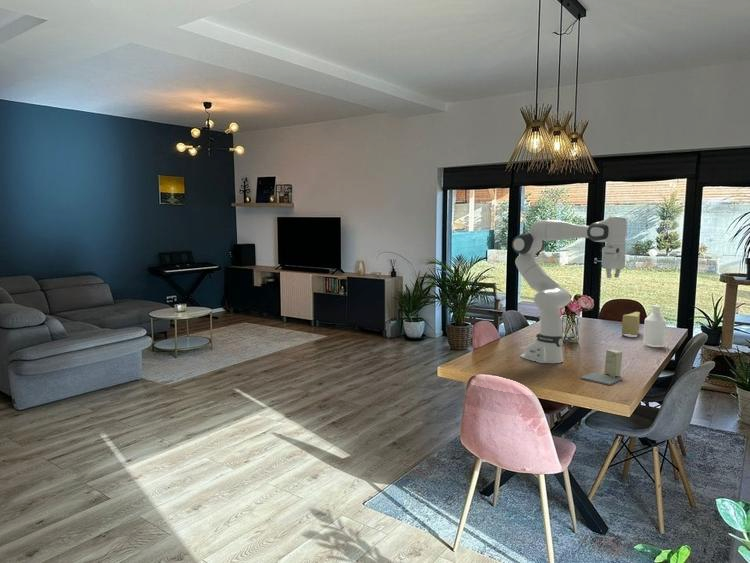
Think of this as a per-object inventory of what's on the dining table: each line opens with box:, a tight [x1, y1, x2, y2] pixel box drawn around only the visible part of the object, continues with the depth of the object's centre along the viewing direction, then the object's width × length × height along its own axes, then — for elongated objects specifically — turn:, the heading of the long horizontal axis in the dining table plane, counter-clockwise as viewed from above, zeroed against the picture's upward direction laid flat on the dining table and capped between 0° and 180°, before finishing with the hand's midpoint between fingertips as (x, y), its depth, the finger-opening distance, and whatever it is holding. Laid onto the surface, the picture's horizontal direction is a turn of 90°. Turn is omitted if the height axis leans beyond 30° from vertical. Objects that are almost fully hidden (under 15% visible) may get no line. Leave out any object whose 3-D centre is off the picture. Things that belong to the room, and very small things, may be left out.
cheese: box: [621, 311, 641, 336], centre depth 366 cm, size 22×10×15 cm, turn 141°
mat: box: [580, 371, 624, 386], centre depth 256 cm, size 14×14×1 cm
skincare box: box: [604, 348, 623, 377], centre depth 264 cm, size 6×4×12 cm
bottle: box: [643, 304, 667, 345], centre depth 332 cm, size 12×12×25 cm
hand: (612, 277), depth 264 cm, fingers open, 8 cm apart
